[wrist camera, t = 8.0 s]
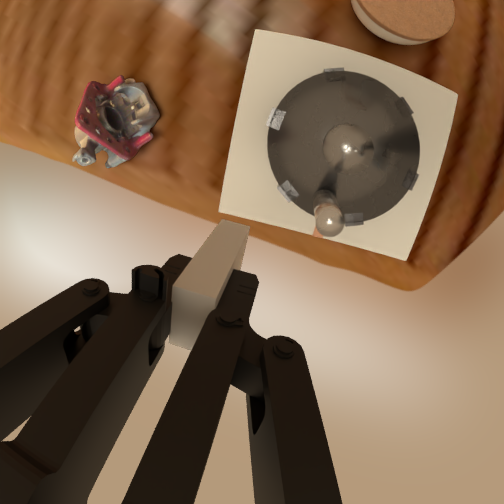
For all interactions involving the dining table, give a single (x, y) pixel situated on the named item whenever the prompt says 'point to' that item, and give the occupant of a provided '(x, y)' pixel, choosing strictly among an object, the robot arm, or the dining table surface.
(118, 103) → the grey maroon spiky lump
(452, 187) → the dining table surface
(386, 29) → the lidded jar
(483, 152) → the dining table surface
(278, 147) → the notched disc with hub
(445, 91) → the base board
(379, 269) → the dining table surface
